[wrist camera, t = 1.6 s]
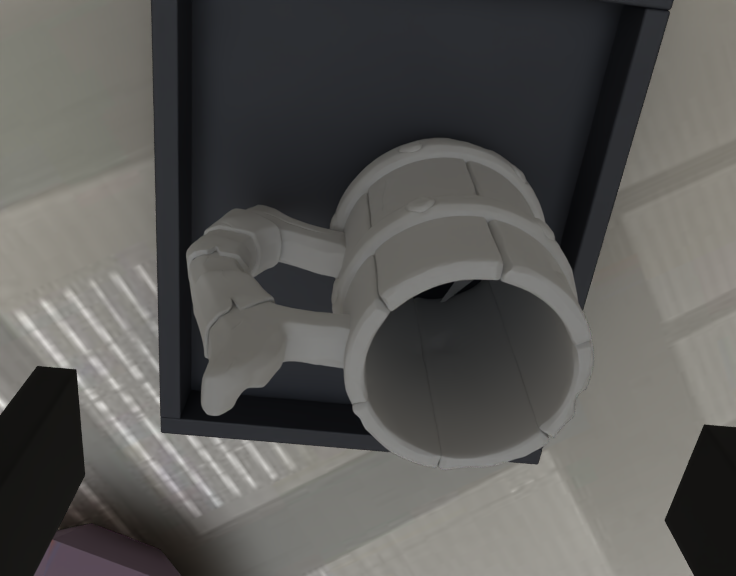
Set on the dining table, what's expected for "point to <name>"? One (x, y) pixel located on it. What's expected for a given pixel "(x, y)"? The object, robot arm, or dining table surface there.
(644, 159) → the dining table surface
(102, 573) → the flask
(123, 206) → the dining table surface
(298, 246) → the mug
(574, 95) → the tray
